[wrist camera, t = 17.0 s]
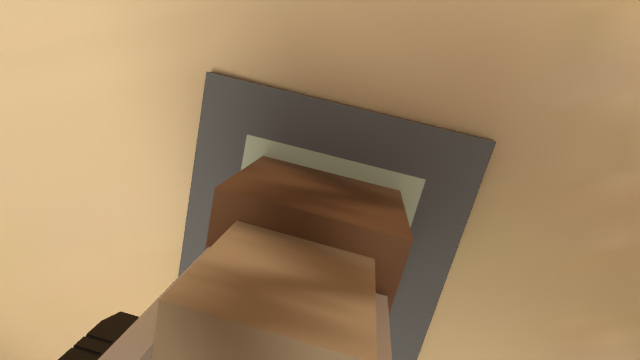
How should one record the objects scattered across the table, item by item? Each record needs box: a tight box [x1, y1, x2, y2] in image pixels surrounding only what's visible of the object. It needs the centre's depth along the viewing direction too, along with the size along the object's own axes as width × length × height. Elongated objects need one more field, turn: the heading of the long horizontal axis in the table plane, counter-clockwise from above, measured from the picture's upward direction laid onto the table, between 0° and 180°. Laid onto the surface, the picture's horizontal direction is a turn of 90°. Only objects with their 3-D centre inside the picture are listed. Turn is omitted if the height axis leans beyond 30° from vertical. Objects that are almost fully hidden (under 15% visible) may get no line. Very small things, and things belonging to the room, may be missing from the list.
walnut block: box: [205, 156, 413, 314], centre depth 17 cm, size 7×7×6 cm
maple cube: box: [151, 221, 377, 360], centre depth 11 cm, size 5×5×5 cm
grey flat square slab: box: [178, 72, 496, 360], centre depth 20 cm, size 14×14×1 cm
